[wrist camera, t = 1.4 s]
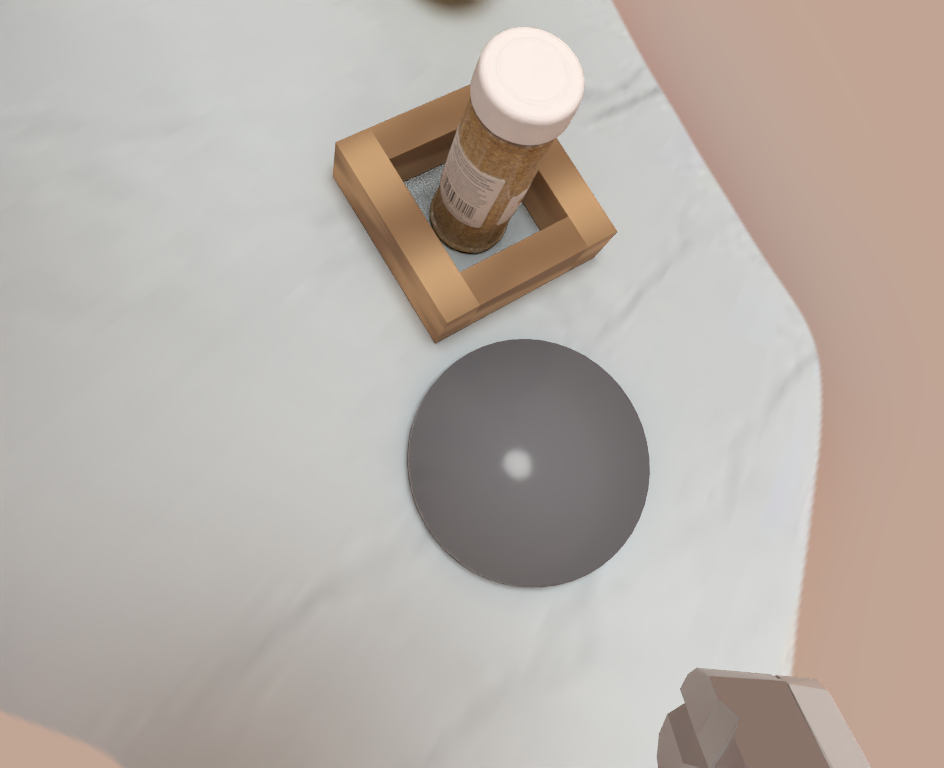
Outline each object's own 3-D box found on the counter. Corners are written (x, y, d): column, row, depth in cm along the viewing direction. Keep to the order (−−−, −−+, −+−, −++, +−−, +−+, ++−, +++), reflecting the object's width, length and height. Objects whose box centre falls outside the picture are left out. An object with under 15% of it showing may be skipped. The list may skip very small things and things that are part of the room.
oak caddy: (333, 176, 43) (335, 142, 39) (495, 103, 46) (510, 67, 43) (435, 343, 42) (447, 323, 38) (594, 257, 45) (617, 231, 42)
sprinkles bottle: (517, 242, 44) (605, 107, 31) (444, 264, 43) (505, 133, 30) (487, 172, 45) (561, 12, 32) (415, 192, 43) (461, 33, 31)
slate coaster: (360, 416, 40) (362, 412, 39) (560, 305, 44) (565, 299, 43) (492, 637, 39) (496, 639, 38) (685, 502, 42) (694, 501, 41)
